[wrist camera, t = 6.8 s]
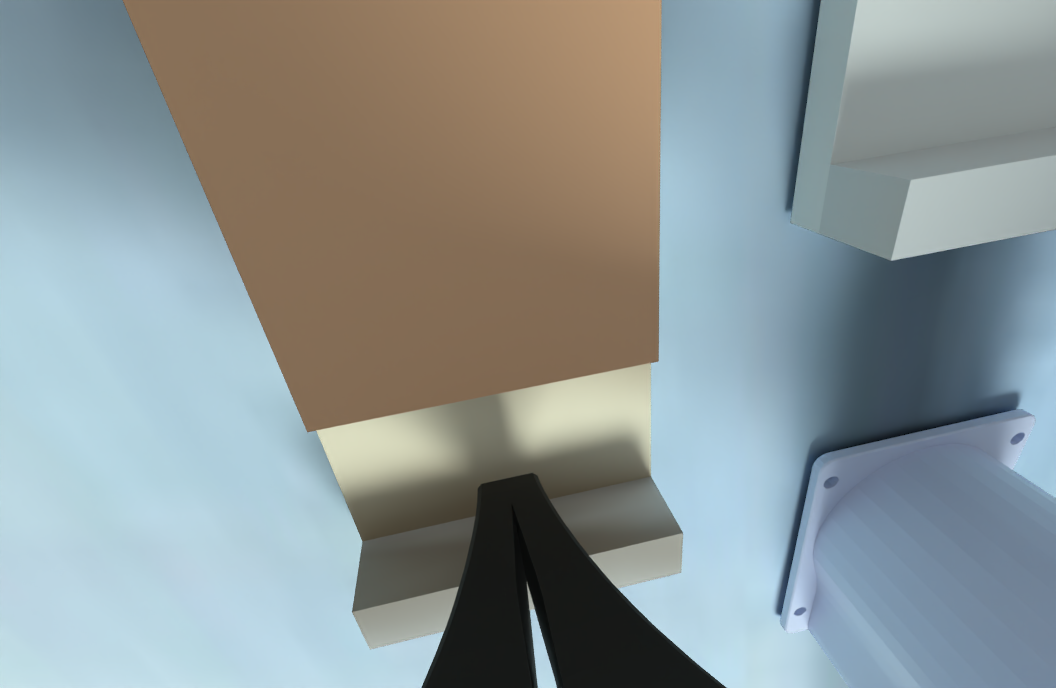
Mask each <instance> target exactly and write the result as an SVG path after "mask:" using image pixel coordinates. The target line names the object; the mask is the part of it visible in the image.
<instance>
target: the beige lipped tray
mask: <svg viewBox="0 0 1056 688" xmlns="http://www.w3.org/2000/svg"><path fill="white" fill-rule="evenodd" d="M316 431H317V433H318V436H319V438H320V440H321V443H322V445H323V448H324V450H325V452H326V455H327V457H328V460H329V462H330V464H331V467H332V469H333V472H334V474H335V476H336V479H337V481H338V484H339V486H340V488H341V491H342V493H343V496H344V498H345V500H346V503H347V505H348V508H349V510H350V512H351V515H352V517H353V520H354V522H355V525H356V527H357V529H358V532H359V534H360V537H361V539H362V541H363V542H362V549H361V556H360V562H359V569H358V576H357V583H356V589H355V596H354V603H353V610H352V613H353V615H354V617H355V619H356V621H357V623H358V625H359V627H360V630H361V632H362V634H363V636H364V638H365V640H366V642H367V644H368V646H369V648H370V649H374V648H378V647H382V646H387V645H391V644H395V643H399V642H403V641H407V640H411V639H415V638H419V637H423V636H427V635H431V634H435V633H439V632H443V631H445V628H446V625H447V622H448V620H449V617H450V614H451V611H452V608H453V605H454V601H455V598H456V595H457V591H458V588H459V585H460V581H461V578H462V574H463V571H464V567H465V564H466V559H467V555H468V551H469V546H470V542H471V538H472V533H473V527H474V522H475V515H476V508H477V494H478V487H479V486H480V485H481V484H483V483H487V482H492V481H496V480H501V479H506V478H510V477H515V476H519V475H524V474H529V473H534V474H536V475H537V476H538V478H539V480H540V483H541V485H542V487H543V489H544V491H545V492H546V494H547V496H548V498H549V500H550V501H551V503H552V504H553V506H554V508H555V509H556V511H557V512H558V514H559V515H560V517H561V518H562V520H563V521H564V523H565V524H566V526H567V527H568V528H569V530H570V531H571V532H572V534H573V535H574V537H575V538H576V539H577V541H578V542H579V543H580V545H581V546H582V547H583V549H584V550H585V551H586V552H587V554H588V555H589V556H590V557H591V559H592V560H593V561H594V562H595V563H596V565H597V566H598V567H599V568H600V569H601V571H602V572H603V573H604V574H605V575H606V576H607V577H608V579H609V580H610V581H611V582H612V583H613V584H614V585H615V586H616V588H621V587H625V586H629V585H633V584H637V583H641V582H646V581H650V580H654V579H658V578H662V577H666V576H670V575H674V574H678V573H681V565H682V543H683V532H682V531H681V529H680V527H679V525H678V523H677V522H676V520H675V518H674V516H673V515H672V513H671V511H670V509H669V508H668V506H667V504H666V502H665V501H664V499H663V497H662V495H661V494H660V492H659V490H658V488H657V487H656V485H655V483H654V481H653V480H652V478H651V363H648V364H643V365H638V366H633V367H628V368H623V369H618V370H613V371H608V372H603V373H598V374H593V375H588V376H583V377H579V378H574V379H569V380H564V381H559V382H554V383H549V384H544V385H539V386H534V387H529V388H524V389H519V390H514V391H509V392H504V393H499V394H494V395H489V396H484V397H479V398H475V399H470V400H465V401H460V402H455V403H450V404H445V405H440V406H435V407H430V408H425V409H420V410H415V411H410V412H405V413H400V414H395V415H390V416H385V417H380V418H375V419H371V420H366V421H361V422H356V423H351V424H346V425H341V426H336V427H331V428H326V429H321V430H316ZM527 589H528V599H529V609H530V610H532V609H535V608H534V605H533V601H532V598H531V594H530V591H529V587H528V584H527Z"/></svg>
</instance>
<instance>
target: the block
mask: <svg viewBox="0 0 1056 688" xmlns="http://www.w3.org/2000/svg"><path fill="white" fill-rule="evenodd" d="M123 3H124V5H125V7H126V10H127V12H128V14H129V17H130V19H131V21H132V24H133V26H134V28H135V31H136V33H137V35H138V38H139V40H140V42H141V45H142V47H143V49H144V52H145V54H146V56H147V59H148V61H149V63H150V66H151V68H152V70H153V73H154V75H155V77H156V80H157V82H158V84H159V87H160V89H161V91H162V94H163V96H164V98H165V101H166V103H167V105H168V108H169V110H170V112H171V115H172V117H173V119H174V122H175V124H176V126H177V129H178V131H179V133H180V136H181V138H182V140H183V143H184V145H185V147H186V150H187V152H188V154H189V157H190V159H191V161H192V164H193V166H194V168H195V171H196V173H197V175H198V178H199V180H200V182H201V185H202V187H203V189H204V192H205V194H206V196H207V199H208V201H209V203H210V206H211V208H212V210H213V213H214V215H215V217H216V220H217V222H218V224H219V227H220V229H221V231H222V234H223V236H224V238H225V241H226V243H227V245H228V248H229V250H230V252H231V255H232V257H233V259H234V262H235V264H236V266H237V269H238V271H239V273H240V276H241V278H242V280H243V283H244V285H245V287H246V290H247V292H248V294H249V297H250V299H251V301H252V304H253V306H254V308H255V311H256V313H257V316H258V318H259V320H260V323H261V325H262V327H263V330H264V332H265V334H266V337H267V339H268V341H269V344H270V346H271V348H272V351H273V353H274V355H275V358H276V360H277V362H278V365H279V367H280V369H281V372H282V374H283V376H284V379H285V381H286V383H287V386H288V388H289V390H290V393H291V395H292V397H293V400H294V402H295V404H296V407H297V409H298V411H299V414H300V416H301V418H302V421H303V423H304V425H305V428H306V430H307V432H311V431H316V430H321V429H326V428H331V427H336V426H341V425H346V424H351V423H356V422H361V421H366V420H371V419H375V418H380V417H385V416H390V415H395V414H400V413H405V412H410V411H415V410H420V409H425V408H430V407H435V406H440V405H445V404H450V403H455V402H460V401H465V400H470V399H475V398H479V397H484V396H489V395H494V394H499V393H504V392H509V391H514V390H519V389H524V388H529V387H534V386H539V385H544V384H549V383H554V382H559V381H564V380H569V379H574V378H579V377H583V376H588V375H593V374H598V373H603V372H608V371H613V370H618V369H623V368H628V367H633V366H638V365H643V364H648V363H653V362H658V357H659V237H660V117H661V0H123Z"/></svg>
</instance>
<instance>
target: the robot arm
mask: <svg viewBox="0 0 1056 688" xmlns="http://www.w3.org/2000/svg"><path fill="white" fill-rule="evenodd" d="M1034 424H1035V416H1034V415H1032V414H1030V413H1028V412H1026V411H1024V410H1023V409H1017V410H1012V411H1008V412H1003V413H999V414H994V415H990V416H986V417H981V418H977V419H973V420H968V421H964V422H959V423H955V424H951V425H946V426H942V427H938V428H933V429H929V430H925V431H920V432H916V433H911V434H907V435H903V436H898V437H894V438H890V439H885V440H881V441H877V442H872V443H868V444H863V445H859V446H855V447H850V448H846V449H842V450H837V451H833V452H828V453H825V454H823V455H821V456H820V457H818V458H817V459H816V461H815V462H814V464H813V467H812V471H811V476H810V481H809V486H808V490H807V495H806V500H805V505H804V510H803V514H802V519H801V524H800V529H799V533H798V538H797V543H796V548H795V552H794V557H793V562H792V567H791V571H790V576H789V581H788V586H787V590H786V595H785V600H784V605H783V610H782V614H781V619H780V624H781V626H782V627H783V629H784V630H785V631H786V632H787V633H796V632H800V631H804V630H809V631H810V633H811V634H812V635H813V637H814V638H815V640H816V641H817V643H818V644H819V646H820V647H821V648H822V650H823V651H824V653H825V654H826V656H827V657H828V658H829V660H830V661H831V663H832V664H833V666H834V667H835V668H836V670H837V671H838V673H839V674H840V676H841V677H842V678H843V680H844V681H845V683H846V684H847V686H848V687H849V688H1056V498H1054V497H1053V496H1051V495H1050V494H1048V493H1047V492H1045V491H1044V490H1042V489H1041V488H1039V487H1038V486H1036V485H1035V484H1033V483H1032V482H1030V481H1029V480H1027V479H1026V478H1024V477H1022V476H1021V475H1019V474H1018V473H1016V472H1015V471H1013V469H1014V467H1015V465H1016V462H1017V460H1018V458H1019V456H1020V454H1021V452H1022V450H1023V448H1024V446H1025V443H1026V441H1027V439H1028V437H1029V435H1030V433H1031V431H1032V429H1033V427H1034ZM527 584H528V587H529V591H530V594H531V598H532V601H533V605H534V608H535V611H536V615H537V618H538V622H539V625H540V629H541V632H542V636H543V639H544V643H545V646H546V650H547V653H548V656H549V660H550V663H551V667H552V670H553V674H554V677H555V681H556V685H557V688H726V687H725V686H724V685H722V684H721V683H720V682H719V681H718V680H716V679H715V678H714V677H713V676H711V675H710V674H709V673H708V672H706V671H705V670H704V669H703V668H701V667H700V666H699V665H698V664H697V663H695V662H694V661H693V660H692V659H691V658H690V657H689V656H687V655H686V654H685V653H684V652H683V651H682V650H681V649H680V648H678V647H677V646H676V645H675V644H674V643H673V642H672V641H671V640H669V639H668V638H667V637H666V636H665V635H664V634H663V633H662V632H660V631H659V630H658V629H657V628H656V627H655V626H654V625H653V624H652V623H651V622H650V621H649V620H648V619H647V618H646V617H645V616H644V615H643V614H642V613H641V612H640V611H639V610H638V609H637V608H636V607H635V606H634V605H633V604H632V603H631V602H630V601H629V600H628V599H627V598H626V597H625V596H624V595H623V594H622V593H621V592H620V591H619V590H618V589H617V588H616V586H615V585H614V584H613V583H612V582H611V581H610V580H609V579H608V577H607V576H606V575H605V574H604V573H603V572H602V571H601V569H600V568H599V567H598V566H597V565H596V563H595V562H594V561H593V560H592V559H591V557H590V556H589V555H588V554H587V552H586V551H585V550H584V549H583V547H582V546H581V545H580V543H579V542H578V541H577V539H576V538H575V537H574V535H573V534H572V532H571V531H570V530H569V528H568V527H567V526H566V524H565V523H564V521H563V520H562V518H561V517H560V515H559V514H558V512H557V511H556V509H555V508H554V506H553V504H552V503H551V501H550V500H549V498H548V496H547V494H546V492H545V491H544V489H543V487H542V485H541V483H540V480H539V478H538V476H537V475H536V474H534V473H529V474H524V475H519V476H515V477H510V478H506V479H501V480H496V481H492V482H487V483H483V484H481V485H480V486H479V487H478V494H477V508H476V515H475V522H474V527H473V533H472V538H471V542H470V546H469V551H468V555H467V559H466V564H465V567H464V571H463V574H462V578H461V581H460V585H459V588H458V591H457V595H456V598H455V601H454V605H453V608H452V611H451V614H450V617H449V620H448V622H447V625H446V628H445V631H444V633H443V636H442V639H441V641H440V644H439V647H438V649H437V652H436V654H435V657H434V659H433V662H432V664H431V666H430V669H429V671H428V674H427V676H426V678H425V681H424V683H423V685H422V688H538V686H537V678H536V668H535V658H534V648H533V638H532V628H531V619H530V609H529V599H528V589H527Z"/></svg>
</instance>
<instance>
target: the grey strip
mask: <svg viewBox="0 0 1056 688" xmlns="http://www.w3.org/2000/svg"><path fill="white" fill-rule="evenodd" d="M790 223H792V224H794V225H797V226H800V227H802V228H805V229H808V230H810V231H813V232H816V233H818V234H821V235H824V236H826V237H829V238H832V239H834V240H837V241H840V242H842V243H845V244H848V245H850V246H853V247H856V248H858V249H861V250H864V251H866V252H869V253H872V254H874V255H877V256H880V257H882V258H885V259H888V260H890V261H892V260H898V259H903V258H908V257H913V256H919V255H924V254H929V253H934V252H940V251H945V250H950V249H956V248H961V247H966V246H971V245H977V244H982V243H987V242H992V241H998V240H1003V239H1008V238H1013V237H1019V236H1024V235H1029V234H1034V233H1040V232H1045V231H1050V230H1055V229H1056V0H821V4H820V11H819V19H818V26H817V33H816V40H815V48H814V55H813V62H812V70H811V77H810V84H809V91H808V99H807V106H806V113H805V120H804V128H803V135H802V142H801V149H800V157H799V164H798V171H797V179H796V186H795V193H794V200H793V208H792V215H791V222H790Z"/></svg>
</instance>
